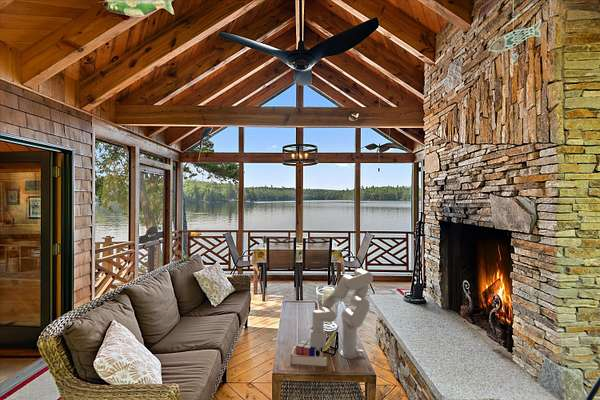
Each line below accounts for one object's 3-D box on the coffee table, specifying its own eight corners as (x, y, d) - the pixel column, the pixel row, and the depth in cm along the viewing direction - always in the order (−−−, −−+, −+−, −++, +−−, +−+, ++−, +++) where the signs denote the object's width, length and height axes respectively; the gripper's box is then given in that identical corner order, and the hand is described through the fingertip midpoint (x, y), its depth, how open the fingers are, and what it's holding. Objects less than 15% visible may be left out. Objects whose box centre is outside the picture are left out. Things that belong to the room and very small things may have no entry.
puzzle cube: (309, 363, 223) (309, 348, 223) (295, 360, 227) (295, 345, 226) (314, 356, 232) (315, 342, 232) (301, 354, 236) (301, 339, 236)
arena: (327, 355, 235) (327, 347, 234) (326, 366, 220) (326, 357, 220) (293, 352, 238) (293, 345, 238) (290, 363, 223) (290, 355, 223)
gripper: (306, 330, 224) (306, 358, 224) (329, 332, 222) (328, 359, 223) (307, 326, 232) (307, 352, 232) (329, 327, 230) (329, 354, 230)
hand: (317, 356), depth 227 cm, fingers closed
